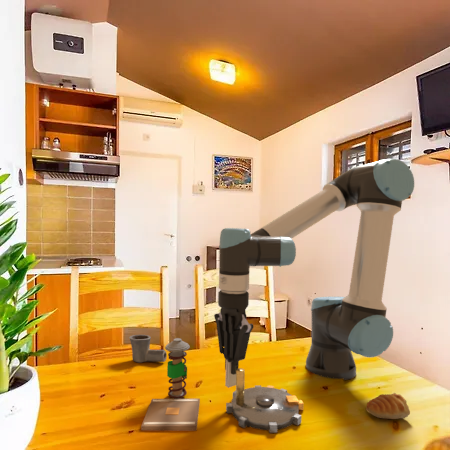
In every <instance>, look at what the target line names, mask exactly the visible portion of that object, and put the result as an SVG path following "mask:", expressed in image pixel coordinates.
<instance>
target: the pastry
mask: <svg viewBox="0 0 450 450" xmlns="http://www.w3.org/2000/svg"><path fill="white" fill-rule="evenodd" d="M365 410H366V411H367V412H368V413H369V414H371V415H372V416H374V417H377V418H380V419H388V420H390V419H391V420H396V419H397V420H399V419H406V418H408V416H409V415H410V414H411V411H410V406H409V405H408V404H407V400H406V399H405V398H404V397H403V396H402V395H401V394H397V393H395V392H393V393H391V394H390V393H389V394H383V393H382V394H379V395H378V396H377V397H374V398H372V399H370V400H369V401H368V402H366V408H365Z"/></svg>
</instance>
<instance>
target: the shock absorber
mask: <svg viewBox="0 0 450 450" xmlns="http://www.w3.org/2000/svg"><path fill="white" fill-rule="evenodd" d="M190 348H191V347H190V344H189V343H188V342H186V341H183V340H182V338H179V337H175V338H173V341H170V342H168V343H167V344H166V345H165V346H164V350H165V351H168V354H167V356H168V359H169V361H168V362H167V371H166V372H167V373H166V374H167V375H166V376H167V377H168V378H169V379H168V383H169V384H172V385H171V386H169V387H168V388H167V389H168V392H167V395H168V397H170V399H183V397H185V396H186V395H187V389H186V386H187V382H186V381H185V380H187V378H188V366H187V365H186V364H187V359H186V356H187V355H188V353H187V352H186V351H187V350H189V349H190ZM183 360H184V361H183Z"/></svg>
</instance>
